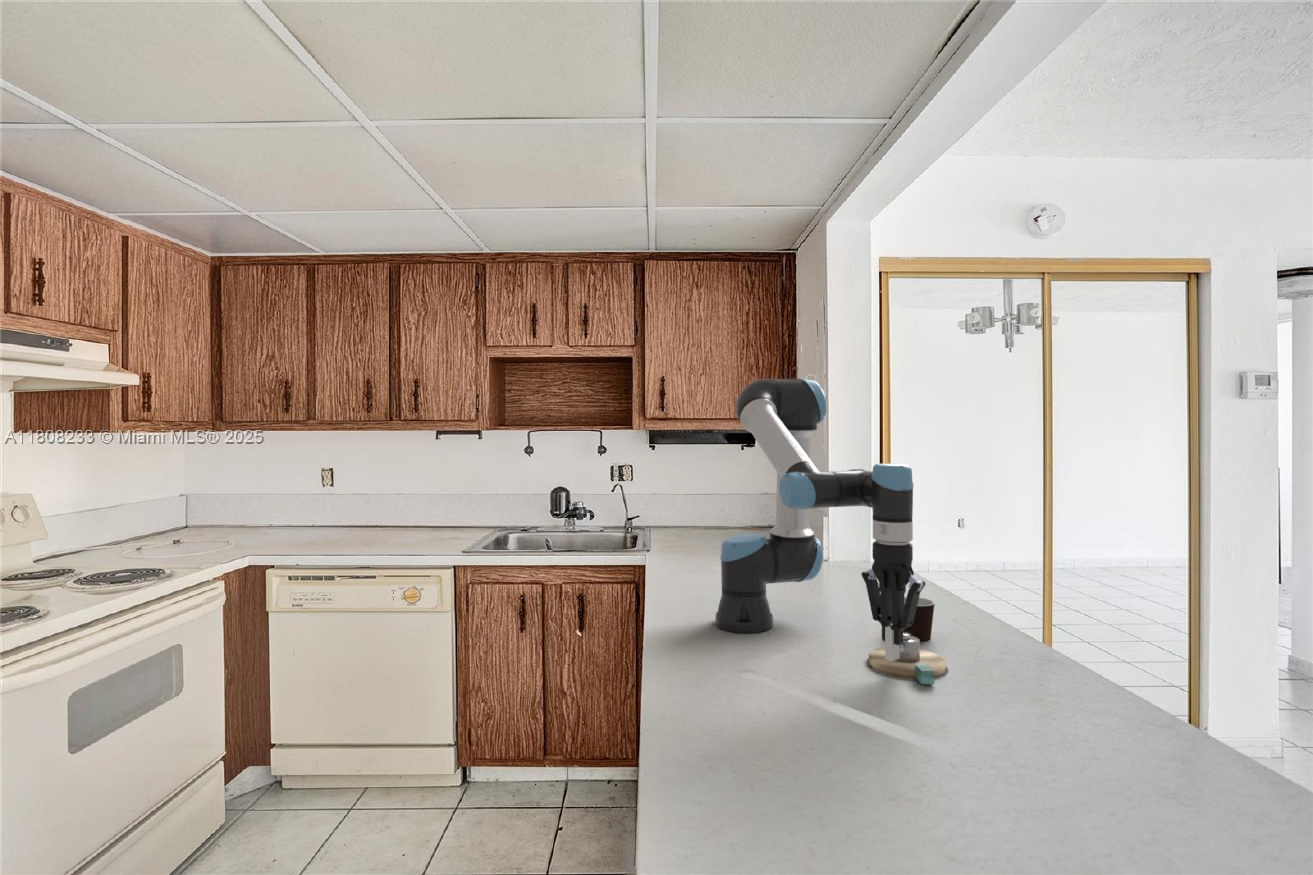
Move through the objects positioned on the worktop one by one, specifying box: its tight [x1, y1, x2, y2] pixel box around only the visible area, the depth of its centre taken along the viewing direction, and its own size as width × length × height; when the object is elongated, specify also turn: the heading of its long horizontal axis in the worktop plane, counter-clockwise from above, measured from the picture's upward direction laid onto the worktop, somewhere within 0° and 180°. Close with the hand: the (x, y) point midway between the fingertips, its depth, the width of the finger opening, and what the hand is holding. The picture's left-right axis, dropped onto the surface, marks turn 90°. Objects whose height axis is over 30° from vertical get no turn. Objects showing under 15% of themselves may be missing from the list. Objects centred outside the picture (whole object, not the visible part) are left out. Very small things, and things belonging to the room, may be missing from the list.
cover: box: [895, 633, 921, 663], centre depth 136 cm, size 6×6×5 cm
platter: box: [868, 646, 947, 685], centre depth 134 cm, size 19×15×3 cm
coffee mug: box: [903, 596, 935, 643], centre depth 156 cm, size 12×9×10 cm
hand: (892, 658), depth 130 cm, fingers closed
